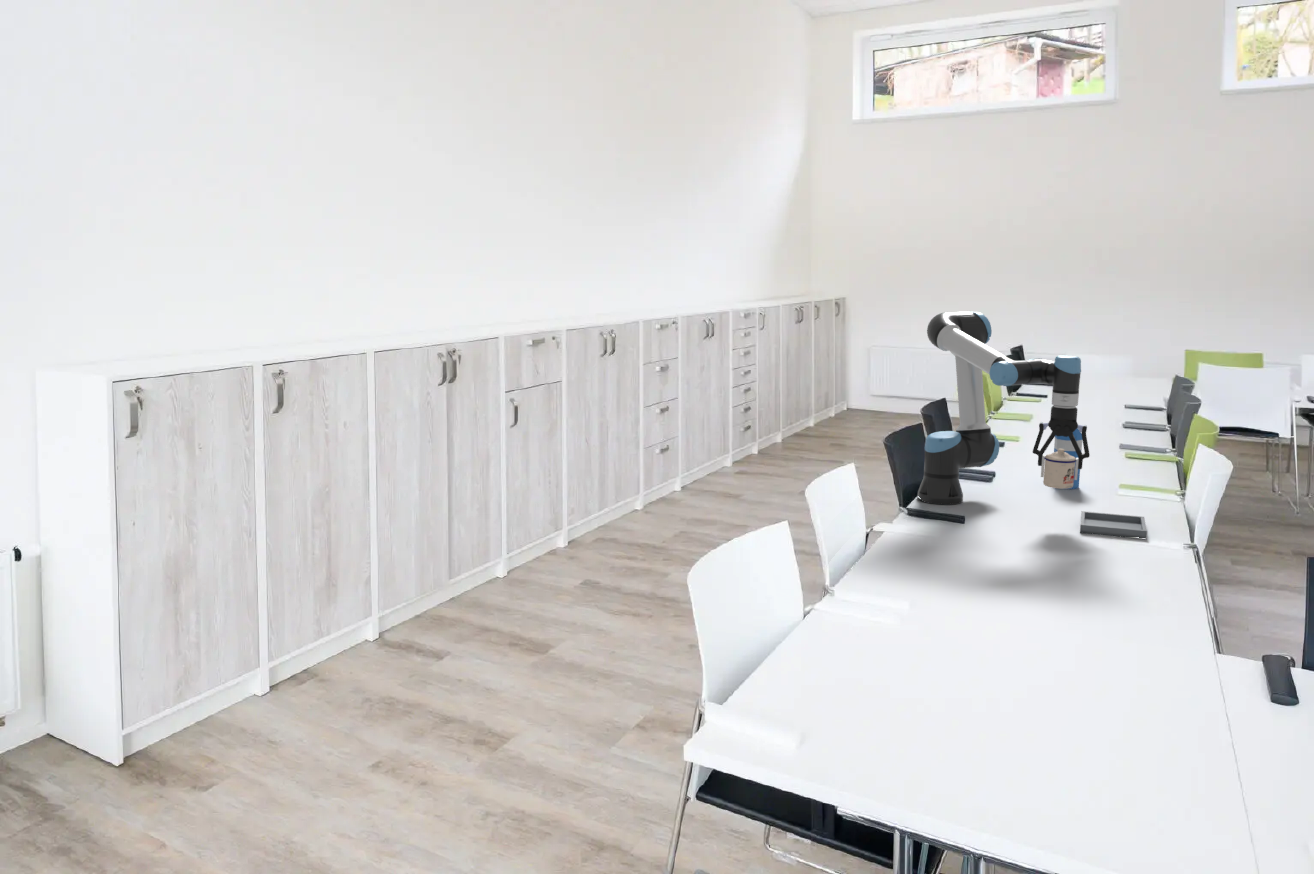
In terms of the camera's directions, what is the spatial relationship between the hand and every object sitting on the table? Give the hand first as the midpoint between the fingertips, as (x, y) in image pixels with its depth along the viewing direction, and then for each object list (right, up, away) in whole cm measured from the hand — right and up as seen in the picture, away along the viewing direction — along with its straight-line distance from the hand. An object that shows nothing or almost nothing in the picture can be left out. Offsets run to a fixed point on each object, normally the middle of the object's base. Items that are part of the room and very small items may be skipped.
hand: (1058, 477), depth 305 cm
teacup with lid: (0, -2, 0) cm, 3 cm away
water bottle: (+24, -6, +53) cm, 59 cm away
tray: (+15, -16, -4) cm, 22 cm away
